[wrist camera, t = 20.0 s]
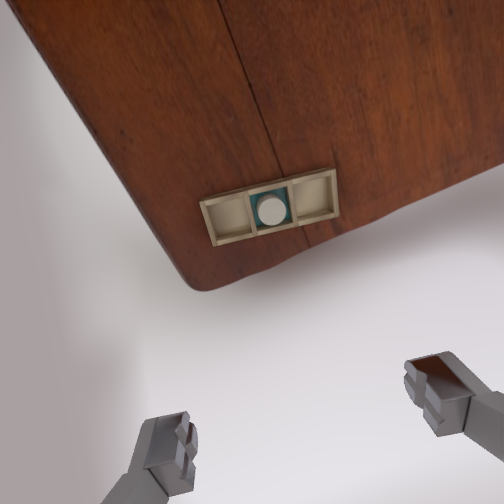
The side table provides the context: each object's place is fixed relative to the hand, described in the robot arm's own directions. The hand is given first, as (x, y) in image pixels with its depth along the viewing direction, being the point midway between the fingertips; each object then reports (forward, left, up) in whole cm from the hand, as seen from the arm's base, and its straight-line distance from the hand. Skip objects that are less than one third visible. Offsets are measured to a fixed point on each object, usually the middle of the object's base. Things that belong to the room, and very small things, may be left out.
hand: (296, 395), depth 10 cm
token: (+3, -1, -28) cm, 29 cm away
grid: (+3, -1, -29) cm, 29 cm away
